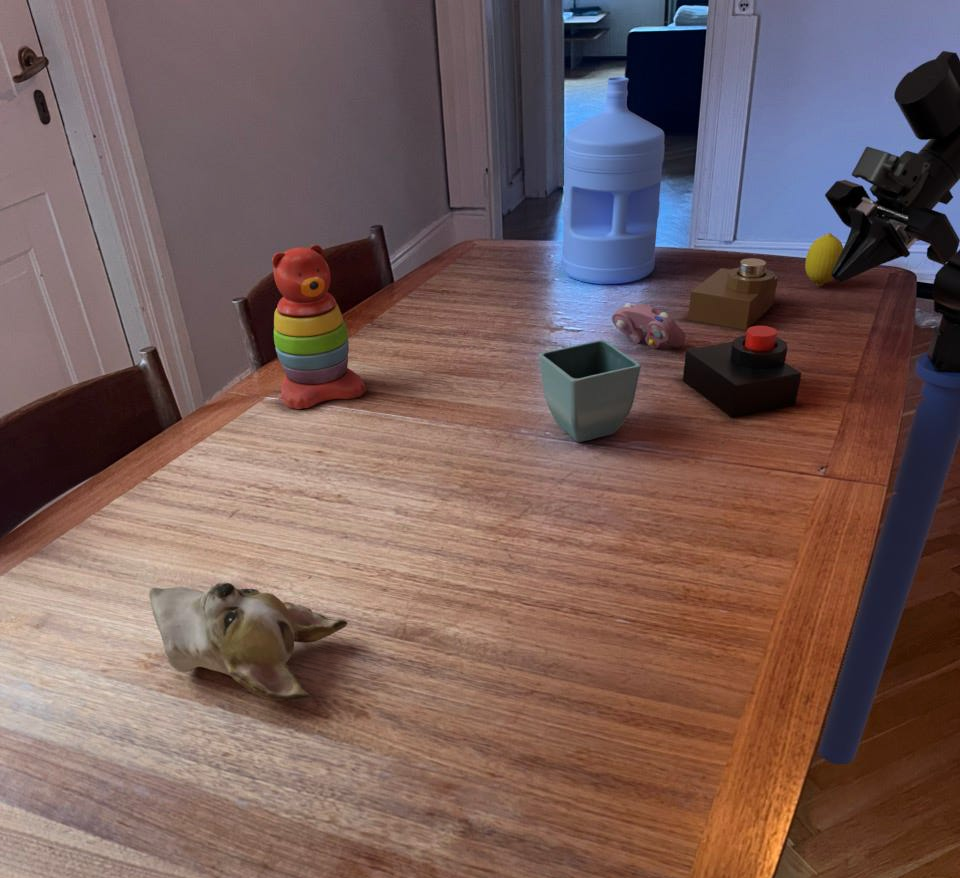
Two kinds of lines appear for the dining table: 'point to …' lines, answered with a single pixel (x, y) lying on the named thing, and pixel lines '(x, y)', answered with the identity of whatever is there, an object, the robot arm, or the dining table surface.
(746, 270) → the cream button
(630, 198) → the water jug
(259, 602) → the ceramic sculpture
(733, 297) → the far box
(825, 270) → the lemon
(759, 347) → the red button
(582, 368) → the flower pot
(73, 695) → the dining table surface
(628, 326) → the video game controller
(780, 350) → the near box
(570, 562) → the dining table surface
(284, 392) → the stacking bear
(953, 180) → the robot arm
